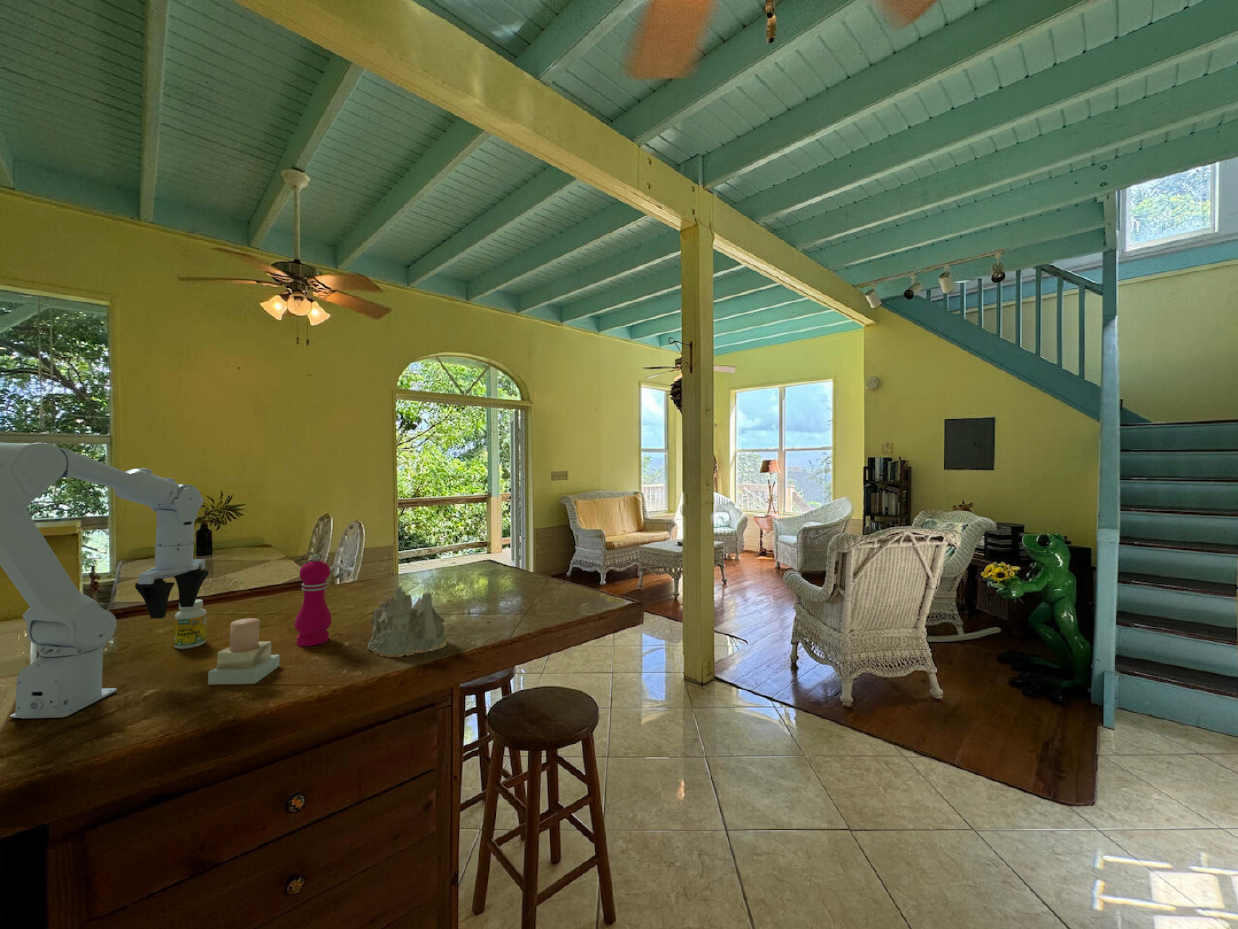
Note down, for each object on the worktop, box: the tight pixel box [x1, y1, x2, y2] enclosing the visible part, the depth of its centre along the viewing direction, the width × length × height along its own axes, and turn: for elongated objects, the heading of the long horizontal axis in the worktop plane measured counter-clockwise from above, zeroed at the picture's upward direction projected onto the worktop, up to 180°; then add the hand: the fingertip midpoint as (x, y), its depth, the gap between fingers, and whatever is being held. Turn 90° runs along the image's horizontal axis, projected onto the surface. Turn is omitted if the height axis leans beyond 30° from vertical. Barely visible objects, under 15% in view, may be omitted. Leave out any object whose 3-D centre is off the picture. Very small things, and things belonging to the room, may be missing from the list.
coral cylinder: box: [229, 617, 260, 652], centre depth 95 cm, size 4×4×5 cm
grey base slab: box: [207, 654, 281, 686], centre depth 96 cm, size 8×8×3 cm
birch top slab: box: [216, 641, 272, 669], centre depth 96 cm, size 6×6×3 cm
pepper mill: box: [294, 554, 332, 647], centre depth 114 cm, size 7×7×20 cm
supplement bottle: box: [173, 598, 207, 650], centre depth 110 cm, size 5×5×10 cm
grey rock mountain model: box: [367, 585, 447, 655], centre depth 115 cm, size 16×16×15 cm
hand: (172, 612), depth 100 cm, fingers open, 7 cm apart
